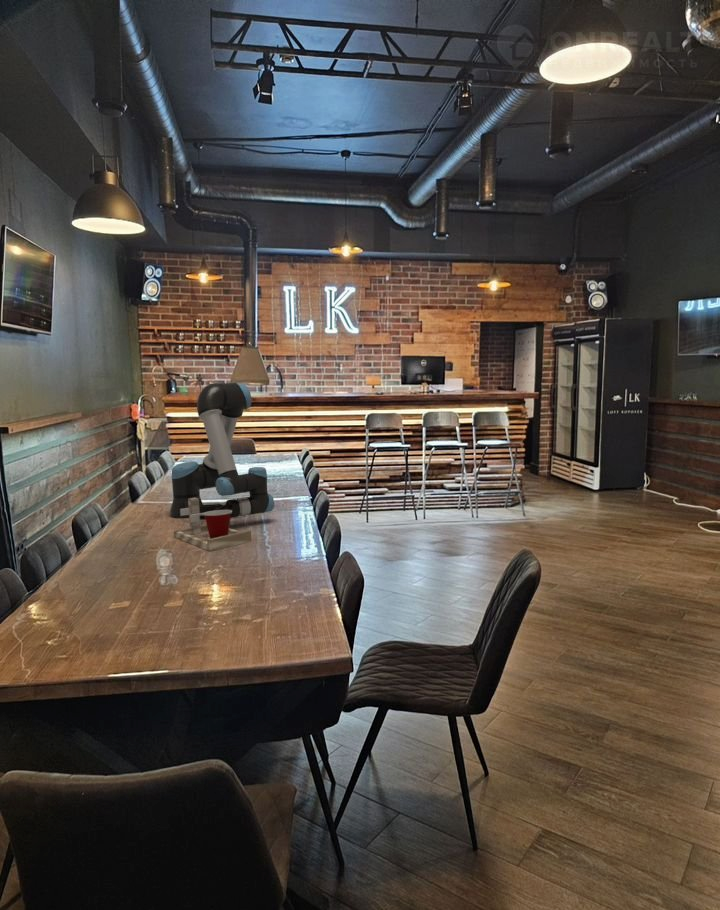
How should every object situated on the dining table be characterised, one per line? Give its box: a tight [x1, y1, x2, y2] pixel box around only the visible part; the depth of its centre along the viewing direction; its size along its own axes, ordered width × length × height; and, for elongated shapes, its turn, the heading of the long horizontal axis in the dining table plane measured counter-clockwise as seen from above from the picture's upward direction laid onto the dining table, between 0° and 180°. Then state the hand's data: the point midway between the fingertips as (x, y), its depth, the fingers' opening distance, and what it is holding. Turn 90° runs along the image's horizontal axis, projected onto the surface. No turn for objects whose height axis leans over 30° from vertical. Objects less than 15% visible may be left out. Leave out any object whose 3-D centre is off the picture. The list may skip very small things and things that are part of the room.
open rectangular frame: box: [173, 498, 252, 552], centre depth 221 cm, size 28×17×14 cm, turn 44°
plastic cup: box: [203, 510, 232, 539], centre depth 217 cm, size 11×11×12 cm
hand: (185, 515), depth 228 cm, fingers open, 12 cm apart
